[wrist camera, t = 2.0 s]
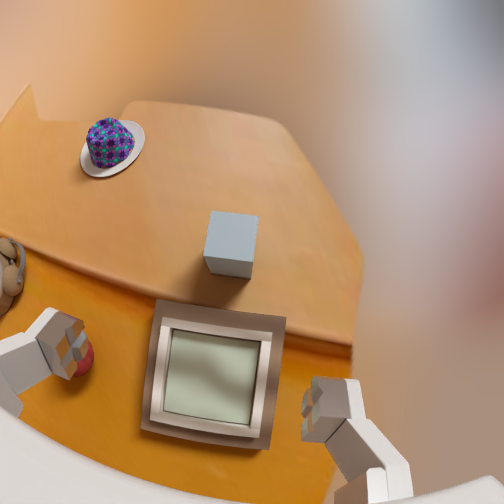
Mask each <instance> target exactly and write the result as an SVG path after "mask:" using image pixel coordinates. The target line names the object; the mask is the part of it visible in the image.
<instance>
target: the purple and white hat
mask: <svg viewBox="0 0 504 504" xmlns="http://www.w3.org/2000/svg"><path fill="white" fill-rule="evenodd" d="M130 132H131V133H132V134H133V135H132V134H131V133H130ZM133 136H134V138H135V146H134V141H133V140H132V137H133ZM144 138H145V136H144V132H143V129H142V128H141V126H140V125H138V124H137V123H135V122H133V121H129V120H120V121H118V120H116V119H113V118H105V119H104V120H100V121H98V122H96V124H95V125H94V126H92V127H91V128H90V129H89V131H88V135H87V138H86V143H85V145H84V147H83V149H82V152H81V156H80V162H81V166H82V168H83V170H84V171H85V172H86V173H87V174H89V175H91V176H95V177H105V176H110V175H112V174H115V173H117V172H119V171H121V170H123V169H124V168H126V167H127V166H128V165H129V164H131V163H132V162H133V161H134V160H135V159H136V157H137V156H138V155H139V153H140V151H141V149H142V147H143V144H144ZM133 147H134V149H133ZM131 149H133V151H132V152H131V154H130V155H129V151H130V150H131ZM128 155H129V156H128ZM127 157H128V158H127ZM126 158H127V159H126ZM125 159H126V160H125ZM91 160H92V161H94V163H95V166H94V165H93V163H92V161H91ZM123 160H124V161H123ZM120 161H123V162H122V163H120V164H119V165H117V166H115V165H116V164H117V163H118V162H120ZM103 166H105V167H107V168H108V169H101V167H103ZM113 166H115V167H113ZM97 167H99V168H97ZM111 167H112V168H111Z"/></svg>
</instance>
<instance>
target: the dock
mask: <svg viewBox="0 0 504 504" xmlns="http://www.w3.org/2000/svg"><path fill="white" fill-rule="evenodd" d="M285 325H286V317H282V316H273V315H264V314H256V313H248V312H240V311H232V310H225V309H218V308H211V307H204V306H197V305H191V304H184V303H178V302H172V301H166V300H160V299H156V305H155V311H154V317H153V324H152V330H151V337H150V344H149V351H148V358H147V366H146V375H145V384H144V393H143V404H142V415H141V429H144V430H148V431H152V432H156V433H160V434H164V435H168V436H173V437H177V438H182V439H187V440H193V441H198V442H204V443H210V444H217V445H224V446H232V447H240V448H250V449H262V450H269V447H270V440H271V434H272V427H273V420H274V413H275V406H276V399H277V391H278V384H279V376H280V368H281V360H282V351H283V343H284V334H285Z"/></svg>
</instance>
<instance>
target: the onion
mask: <svg viewBox="0 0 504 504" xmlns="http://www.w3.org/2000/svg"><path fill="white" fill-rule="evenodd" d="M93 361H94V352H93V348H92V345H91V343H90V342H89V341H88V350H87V354H86V355H85V357H84V359H83V360H81V361H79V362H77V370H76V371H75V373H74V374H73V376H72V377H78V376H81V375H84V374H85V373H86V372H87V371H88V370H89V369H90V368H91V366H92V363H93Z"/></svg>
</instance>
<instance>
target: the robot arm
mask: <svg viewBox="0 0 504 504" xmlns="http://www.w3.org/2000/svg"><path fill="white" fill-rule="evenodd" d="M84 328H85V327H84V323H83V321H82V320H80V319H78V318H75V317H73V316H70V315H68V314H66V313H63V312H61V311H58V310H56V309H54V308H51V307H49V308H46V309H45V310H44V312H43V313H42V314H41V315H40V316H39V317H38V318H37V319H36V321H35V322H34V323H33V324H32V325H31V326H30V327H29V329H28V330H27V331H26V332H25V333H23V332H21V333H18V334H16V335H13V336H11V337H8V338H6V339H3V340H1V341H0V504H251V503H243V502H235V501H229V500H223V499H217V498H212V497H206V496H202V495H197V494H192V493H188V492H184V491H180V490H176V489H172V488H169V487H165V486H162V485H158V484H155V483H152V482H149V481H146V480H143V479H140V478H137V477H134V476H131V475H128V474H126V473H123V472H120V471H118V470H115V469H113V468H110V467H108V466H105V465H103V464H101V463H98V462H96V461H94V460H92V459H90V458H87V457H85V456H83V455H81V454H79V453H77V452H75V451H73V450H71V449H69V448H67V447H65V446H63V445H61V444H60V443H58V442H56V441H54V440H52V439H51V438H49V437H47V436H45V435H44V434H42V433H40V432H39V431H37V430H35V429H34V428H32V427H31V426H29V425H27V424H26V423H24V422H23V421H21V420H20V419H18V417H19V415H20V413H21V411H22V410H23V408H24V406H23V403H22V402H21V400H20V399H19V398H18V396H17V395H19V394H20V393H22V392H24V391H25V390H27V389H28V388H30V387H32V386H33V385H35V384H37V383H38V382H40V381H42V380H43V379H45V378H46V377H48V376H50V375H51V374H52V373H54V374H56V375H58V376H60V377H62V378H65V379H67V380H69V381H70V379H71V378H72V376H73V374H74V373H75V371H76V370H77V362H79V361H81V360H83V359H84V357H85V355H86V354H87V350H88V338H87V335H86V334H85V333H84V332H83V329H84ZM301 414H302V416H303V417H304V418H305V420H304V422H303V423H302V425H301V441H304V442H315V443H325V446H326V448H327V449H328V451H329V452H330V454H331V456H332V457H333V459H334V461H335V462H336V464H337V465H338V467H339V469H340V470H341V472H342V473H343V475H344V476H345V478H346V480H347V481H348V483H347V484H346V485H344V486H343V487H341V488H340V489H338V490H337V491H336V492H335V497H334V498H335V499H334V502H335V503H334V504H504V486H503V485H502V484H501V483H500V482H499V481H498V480H496V479H495V478H494V477H492V476H490V475H486V476H482V477H480V478H476V479H474V480H471V481H468V482H465V483H462V484H459V485H456V486H452V487H449V488H446V489H442V490H438V491H435V492H431V493H427V494H423V495H418V496H413V488H412V482H411V475H410V469H409V463H408V462H407V461H406V460H405V459H404V458H403V457H402V456H401V454H400V453H399V452H398V451H397V450H396V449H395V448H394V447H393V445H392V444H391V443H390V442H389V441H388V440H387V439H386V437H385V436H384V435H383V434H382V433H381V432H380V431H379V429H378V428H377V427H376V426H375V425H374V424H373V423H372V421H371V420H370V419H366V417H365V410H364V404H363V399H362V393H361V387H360V383H359V381H358V380H354V379H343V378H334V377H324V376H315V377H314V378H313V379H312V381H311V388H309V389H307V390H306V392H305V394H304V397H303V401H302V408H301Z"/></svg>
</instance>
